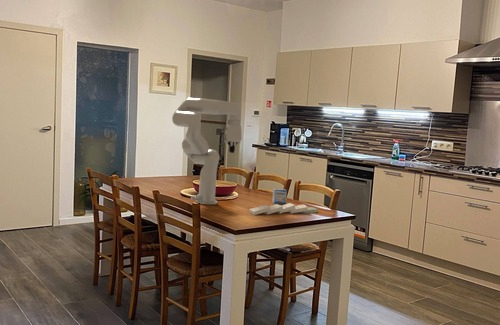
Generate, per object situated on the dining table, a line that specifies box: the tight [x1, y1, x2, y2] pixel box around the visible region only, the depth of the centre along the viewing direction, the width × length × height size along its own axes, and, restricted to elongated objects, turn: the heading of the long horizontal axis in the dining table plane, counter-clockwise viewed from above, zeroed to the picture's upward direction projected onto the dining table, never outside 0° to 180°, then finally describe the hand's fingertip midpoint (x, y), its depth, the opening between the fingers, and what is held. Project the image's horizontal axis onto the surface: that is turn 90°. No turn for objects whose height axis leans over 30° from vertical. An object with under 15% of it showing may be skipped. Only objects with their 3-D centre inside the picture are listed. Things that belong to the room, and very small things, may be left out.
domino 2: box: [262, 203, 283, 215], centre depth 271 cm, size 2×6×10 cm
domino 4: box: [288, 204, 309, 214], centre depth 277 cm, size 2×6×10 cm
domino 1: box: [249, 204, 271, 216], centre depth 266 cm, size 2×6×10 cm
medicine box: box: [271, 188, 288, 205], centre depth 303 cm, size 8×4×9 cm, turn 101°
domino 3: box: [276, 202, 296, 215], centre depth 275 cm, size 2×6×10 cm
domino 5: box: [301, 206, 319, 214], centre depth 282 cm, size 2×6×10 cm
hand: (231, 152), depth 303 cm, fingers closed
